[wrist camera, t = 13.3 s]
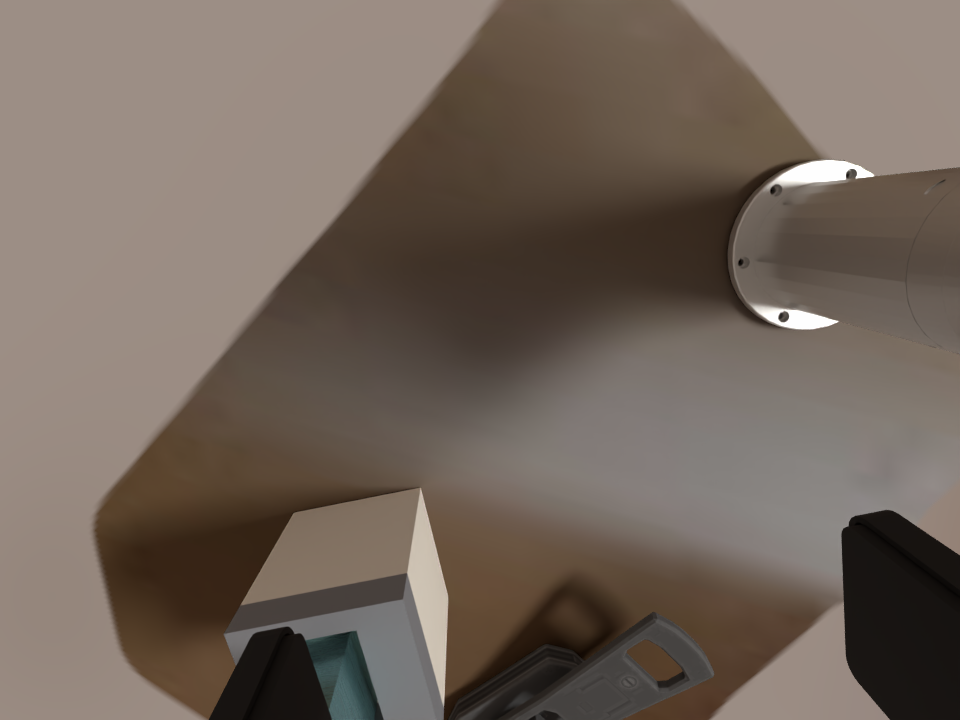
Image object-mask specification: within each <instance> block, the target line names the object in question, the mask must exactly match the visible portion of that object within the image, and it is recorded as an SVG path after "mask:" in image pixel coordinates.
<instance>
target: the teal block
mask: <svg viewBox="0 0 960 720" xmlns="http://www.w3.org/2000/svg"><path fill="white" fill-rule="evenodd" d="M305 641H306V644H307V647H308V650H309V653H310V656H311V659H312V662H313V665H314V667H315V670H316V673H317V676H318V679H319V682H320V685H321V688H322V691H323V694H324V697H325V700H326V703H327V706H328V709H329V712H330V715H331V718H332V720H374V717H375V712H376V706H377V700H378V699H377V696H376V693H375V690H374V686H373V683H372V680H371V677H370V673H369V670H368V667H367V664H366V660H365V657H364V654H363V651H362V647H361V644H360V641H359V638H358V634H357V631H356V630H355V631H350V632H345V633H340V634H334V635H329V636H324V637H319V638H314V639H309V640H305Z"/></svg>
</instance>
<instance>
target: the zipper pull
mask: <svg viewBox="0 0 960 720" xmlns="http://www.w3.org/2000/svg"><path fill="white" fill-rule="evenodd" d="M643 640H649V641H651V642H653V643H654V644H656V645H658V646H660V647H661V648H662V649H663V650H664V651H665V652H666V653H667V654H668V655H669V656H670V657H671V658H672V659H673V660H674V661H675V662H676V663H677V664H678V665H679V666H680V667H681V669H682V670H683V672H681V673H679V674H678V675H676V676H674V677H672V678H671V679H669V680H667V681H656V680H655V679H654V678H653V677H652V676H651V675H649V674H648V673H647V672H646V671H645V670H644V669H643V668H642V667H641V666H640V665H639V664H638V663H637V662H636V661H634V660H633V659H632V658H631V657H630V656H629V655H628V654H627V653H626V652H627V650H628V649H629V648H631V647H633V646H634V645H636V644H638V643H639V642H641V641H643ZM713 676H714V672H713V669H712V667H711V665H710V663H709V661H708V659H707V657H706V655H705V653H704V652H703V650H702V649H701V648H700V647H699V645H698V644H697V643H696V642H695V641H694V640H693V639H692V638H691V637H690V636H689V635H688V634H687V633H686V632H685V631H684V630H683V629H681V628H680V627H679V626H677V625H676V624H675V623H674V622H672V621H670V620H668V619H667V618H665V617H663V616H661V615H659V614H657V613H655V612H652V613H651V614H649V615H648V616H647V617H645V618H644V619H642V620H641V621H639V622H638V623H637V624H635V625H634V626H632V627H631V628H630V629H628V630H627V631H625V632H624V633H622V634H621V635H620V636H618V637H617V638H616V639H614V640H613V641H612V642H611V643H609V644H608V645H606V646H605V647H604V648H602V649H601V650H599V651H598V652H597V653H595V654H594V655H592V656H591V657H590V658H588V659H587V660H585V661H584V660H583V659H582V658H581V657H579V656H578V655H577V654H576V653H575V652H574V651H573V650H570V649H566V648H561V647H557V646H553V645H549V644H545V645H543V646H541V647H539V648H538V649H536V650H535V651H533V652H532V653H530V654H528V655H527V656H525V657H524V658H522V659H521V660H519V661H518V662H516V663H515V664H513V665H512V666H510V667H508V668H507V669H505V670H504V671H502V672H501V673H499V674H498V675H496V676H495V677H493V678H491V679H490V680H488V681H487V682H485V683H484V684H482V685H481V686H479V687H477V688H476V689H474V690H472V691H471V692H469V693H468V694H466V695H464V696H463V697H461V698H460V699H458V701H457V703H456V705H455V707H454V709H453V710H452V712H451V714H450V716H449V718H448V720H621V719H624V718H626V717H628V716H630V715H632V714H634V713H636V712H639V711H641V710H643V709H645V708H647V707H649V706H651V705H654V704H656V703H658V702H660V701H662V700H664V699H667V698H669V697H671V696H674V695H676V694H678V693H680V692H682V691H684V690H687V689H689V688H691V687H693V686H695V685H697V684H699V683H701V682H704V681H706V680H708V679H710V678H712V677H713Z"/></svg>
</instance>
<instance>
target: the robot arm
mask: <svg viewBox="0 0 960 720" xmlns="http://www.w3.org/2000/svg"><path fill="white" fill-rule="evenodd" d="M845 175H846V176H845ZM771 188H772V193H770V189H771ZM739 260H741V263H740V264H739V265H738V261H739ZM728 270H729V274H730V278H731V282H732V285H733V287H734V289H735V291H736V293H737V295H738V297H739V298H740V300H741V301H742V302H743V304H744V305H745V306H746V307H747V308H748V309H749V310H750V311H751V312H752V313H754V314H755V315H756V316H757V317H759V318H761V319H763V320H765V321H766V322H768V323H770V324H773V325H776V326H779V327H782V328H788V329H793V330H813V329H818V328H823V327H828V326H830V325H833V324H835V323H838V322H842V323H846V324H850V325H853V326H857V327H861V328H864V329H868V330H872V331H875V332H879V333H883V334H887V335H890V336H894V337H898V338H901V339H905V340H909V341H912V342H916V343H920V344H924V345H927V346H931V347H935V348H939V349H942V350H946V351H949V352H953V353H957V354H960V167H957V168H947V169H938V170H929V171H919V172H910V173H901V174H891V175H881V176H875V175H874V174H873V173H871V172H870V171H868V170H866V169H864V168H863V167H861V166H860V165H857V164H854V163H851V162H847V161H845V160H835V159H822V160H813V161H808V162H803V163H799V164H796V165H793V166H791V167H788V168H786V169H783V170H781V171H780V172H778V173H777V174H775V175H773V176H772V177H770V178H769V179H767V180H766V181H765V182H764V183H763V184H762V185H761V186H759V187H758V188H757V189H756V190H755V191H754V192H753V193H752V195H751V196H750V197H749V199H748V200H747V201H746V202H745V204H744V205H743V207H742V209H741V210H740V212H739V214H738V216H737V218H736V220H735V222H734V225H733V228H732V231H731V234H730V239H729V246H728ZM779 314H780V316H779ZM778 316H779V317H778ZM842 563H843V590H844V618H845V645H846V659H847V663H848V666H849V668H850V670H851V672H852V674H853V676H854V677H855V679H856V680H857V681H858V683H859V684H860V685H861V686H862V687H863V689H864V690H865V691H866V692H867V693H868V694H869V696H870V697H871V698H872V699H873V700H874V701H875V703H876V704H877V705H878V706H879V707H880V709H881V710H882V711H883V712H884V713H885V714H886V715H887V717H888V718H889V719H890V720H960V555H958V554H957V553H955V552H954V551H952V550H951V549H949V548H948V547H946V546H945V545H944V544H942V543H940V542H939V541H938V540H936V539H934V538H933V537H931V536H930V535H929V534H927V533H926V532H924V531H923V530H921V529H920V528H918V527H917V526H915V525H914V524H912V523H911V522H909V521H908V520H907V519H905V518H904V517H902V516H901V515H899V514H898V513H896V512H894V511H891V510H884V511H879V512H874V513H868V514H863V515H858V516H854V517H852V518H851V520H850V521H849V527H846V528H844V529H843V531H842ZM209 720H332V718H331V715H330V712H329V709H328V706H327V703H326V700H325V697H324V694H323V691H322V688H321V685H320V682H319V679H318V676H317V673H316V670H315V667H314V665H313V662H312V659H311V656H310V653H309V650H308V647H307V644H306V641H305V638H304V636H303V635H302V634H301V633H297V634H294V632H293V630H292V629H291V628H290V627H287V626H286V627H281V628H276V629H271V630H265V631H260V632H256V633H254V634H253V635H252V637H251V638H250V640H249V642H248V644H247V645H246V647H245V649H244V651H243V653H242V655H241V657H240V659H239V661H238V663H237V665H236V667H235V669H234V671H233V673H232V675H231V677H230V679H229V681H228V683H227V685H226V687H225V689H224V691H223V693H222V695H221V697H220V699H219V701H218V703H217V705H216V706H215V708H214V710H213V712H212V714H211V716H210V718H209Z"/></svg>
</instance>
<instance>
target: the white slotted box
mask: <svg viewBox="0 0 960 720" xmlns="http://www.w3.org/2000/svg"><path fill="white" fill-rule="evenodd" d="M447 616H448V594H447V590H446V586H445V582H444V578H443V574H442V570H441V566H440V562H439V558H438V554H437V550H436V546H435V543H434V539H433V535H432V531H431V527H430V523H429V519H428V515H427V511H426V507H425V503H424V499H423V495H422V491H421V488H416V489H411V490H406V491H401V492H396V493H391V494H386V495H381V496H376V497H370V498H365V499H360V500H355V501H350V502H345V503H340V504H335V505H330V506H325V507H320V508H315V509H310V510H305V511H300V512H295V513H293V515H292V517H291V518H290V520H289V522H288V524H287V525H286V527H285V529H284V531H283V532H282V534H281V536H280V538H279V539H278V541H277V543H276V544H275V546H274V548H273V550H272V551H271V553H270V555H269V557H268V558H267V560H266V562H265V564H264V565H263V567H262V569H261V570H260V572H259V574H258V576H257V577H256V579H255V581H254V583H253V584H252V586H251V588H250V590H249V591H248V593H247V595H246V596H245V598H244V600H243V602H242V603H241V605H240V607H239V609H238V610H237V612H236V614H235V616H234V617H233V619H232V621H231V622H230V624H229V626H228V628H227V629H226V631H225V633H224V636H225V638H226V641H227V644H228V646H229V649H230V652H231V654H232V657H233V659H234V662H235V665H237V663H238V661H239V659H240V657H241V655H242V653H243V651H244V649H245V647H246V645H247V644H248V642H249V640H250V638H251V637H252V635H253V634H254V633H256V632H260V631H265V630H271V629H276V628H281V627H286V626H287V627H290V628H291V629H292V630H293V632H294V634H297V633H301V634H302V635H303V636H304V638H305V640H309V639H314V638H319V637H324V636H329V635H334V634H340V633H345V632H350V631H355V630H356V631H357V634H358V638H359V641H360V644H361V647H362V651H363V654H364V657H365V660H366V664H367V667H368V670H369V673H370V677H371V680H372V683H373V686H374V690H375V693H376V696H377V699H378V700H377V706H376V712H375V717H374V720H444V694H445V668H446V642H447Z"/></svg>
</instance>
